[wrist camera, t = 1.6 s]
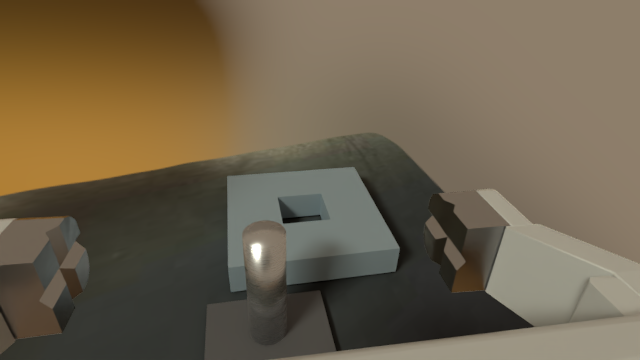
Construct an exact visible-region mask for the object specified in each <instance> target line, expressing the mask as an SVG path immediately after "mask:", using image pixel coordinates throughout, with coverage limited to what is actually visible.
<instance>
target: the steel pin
mask: <svg viewBox="0 0 640 360" xmlns="http://www.w3.org/2000/svg"><path fill="white" fill-rule="evenodd" d="M242 241H243V253H244V265H245V277H246V289H247V301H248V313H249V325H250V335H251V337H252V339H253V340H254V341H255V342H256V343H258V344H260V345H265V346H269V345H274V344H276V343H278V342H280V341H281V340H282V339H283V338H284V337H285V335H286V332H287V271H286V230H285V228H284V227H283V226H282V225H281V224H279V223H277V222H274V221H269V220H262V221H257V222H254V223H251V224H250V225H248V226H247V227H246V228H245V229H244V230H243V233H242Z"/></svg>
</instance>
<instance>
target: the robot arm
mask: <svg viewBox="0 0 640 360" xmlns="http://www.w3.org/2000/svg"><path fill="white" fill-rule="evenodd" d="M428 209H429V211H430V212H431V214H432V215H433V216H432V217H431V218H430V219H429V220H428V221H427V222H426V223H425V229H424V244H425V248H426V251H427V254H428V255H429V257H430V259H431V260H432V261H434V262H435V263H437V264H439V265H440V271H439V274H440V275H441V277H442V278H443V280H444V282H445V283H446V285H447V286H448V288H449V290H450V291H451V293H454V292H467V291H480V290H486V292H487V293H488V294H489V295H491V296H492V297H494V298H495V299H496V300H498V301H499V302H501V303H502V304H504V305H505V306H506V307H508V308H509V309H511V310H512V311H513V312H515V313H516V314H518V315H519V316H520V317H522V318H523V319H525V320H526V321H528V322H529V323H530V324H532V325H533V326H535V327H533V328H525V329H516V330H508V331H500V332H492V333H484V334H475V335H467V336H459V337H451V338H443V339H435V340H426V341H418V342H410V343H402V344H394V345H385V346H377V347H369V348H361V349H352V350H344V351H336V352H328V353H319V354H311V355H303V356H295V357H286V358H278V359H270V360H640V264H639V263H636V262H633V261H631V260H629V259H626V258H624V257H621V256H619V255H616V254H614V253H611V252H609V251H606V250H603V249H601V248H598V247H596V246H593V245H591V244H588V243H586V242H583V241H581V240H578V239H576V238H573V237H571V236H568V235H566V234H563V233H561V232H558V231H556V230H553V229H551V228H548V227H545V226H543V225H540V224H532V223H531V222H530V221H529V220H528V219H527V218H526V217H524V216H523V215H522V214H521V213H520V212H519V211H518V210H517V209H516V208H515V207H514V206H513V205H511V204H510V203H509V202H508V201H507V200H506V199H505V198H504V197H503V196H502V195H500V193H498V192H497V191H496V190H494V189H481V190H472V191H462V192H450V193H439V194H433V195H432V197H431V199H430V202H429V207H428ZM79 234H80V231H79V228H78V225H77V223H76V220H75V219H74V218H72V217H71V216H58V217H35V218H19V219H17V218H11V219H0V354H1V353H2V352H3V351H5V350H6V349H7V348H8V347H9V346H10V345H12V344H13V343H14V342H15V339H20V338H28V337H36V336H44V335H51V334H59V333H63V331H64V329H65V327H66V325H67V323H68V321H69V319H70V317H71V315H72V313H73V311H74V309H75V306H74V303H73V300H72V299H73V298H75V297H76V296H77V295H79V294H80V293H82V292H83V290H84V288H85V286H86V284H87V282H88V276H89V269H90V267H89V258H88V255H87V252H86V249H85V248H84V247H82V246H81V245H80V244H78V243H77V242H76V239H77V237H78V235H79Z"/></svg>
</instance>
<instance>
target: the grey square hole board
mask: <svg viewBox="0 0 640 360" xmlns="http://www.w3.org/2000/svg"><path fill="white" fill-rule="evenodd" d="M227 199H228V271H229V280H230V289H231V292H236V291H244V290H247V289H246V277H245V265H244V253H243V241H242V233H243V230H244V229H245V228H246V227H247V226H248V225H250V224H251V223H254V222H257V221H262V220H269V221H274V222H277V223H279V224H281V225H282V226H283V227H284V228H285V230H286V271H287V285H292V284H300V283H308V282H316V281H324V280H332V279H340V278H348V277H356V276H364V275H372V274H380V273H388V272H396V267H397V262H398V256H399V251H400V248H399V246H398V244H397V242H396V240H395V239H394V237H393V235H392V233H391V232H390V230H389V228H388V226H387V224H386V223H385V221H384V219H383V217H382V216H381V214H380V212H379V210H378V209H377V207H376V205H375V203H374V201H373V200H372V198H371V196H370V194H369V193H368V191H367V189H366V187H365V186H364V184H363V182H362V180H361V178H360V177H359V175H358V173H357V171H356V170H355V168H354V167H350V168H335V169H321V170H307V171H293V172H279V173H265V174H251V175H236V176H227ZM312 215H320V216H321V219H322V220H319V221H308V222H298V223H288V224H283V221H282V218H291V217H301V216H312Z"/></svg>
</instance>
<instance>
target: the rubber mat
mask: <svg viewBox="0 0 640 360" xmlns="http://www.w3.org/2000/svg"><path fill="white" fill-rule="evenodd" d="M328 352H336V348H335V344H334V341H333V337H332V333H331V329H330V326H329V322H328V318H327V315H326V311H325V307H324V303H323V300H322V296H321V292H320V290H317V291H309V292H301V293H293V294H287V332H286V335H285V337H284V338H283V339H282V340H281V341H280V342H278V343H276V344H274V345H269V346H265V345H260V344H258V343H256V342H255V341H254V340H253V339H252V337H251V335H250V325H249V313H248V301H247V300H239V301H232V302H224V303H216V304H209V305H207V318H206V338H205V358H204V360H270V359H278V358H286V357H295V356H303V355H311V354H319V353H328Z"/></svg>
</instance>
